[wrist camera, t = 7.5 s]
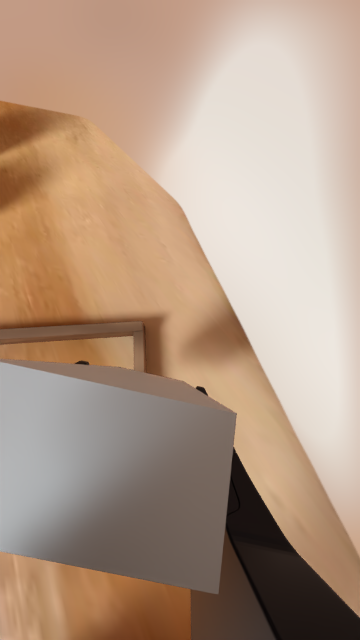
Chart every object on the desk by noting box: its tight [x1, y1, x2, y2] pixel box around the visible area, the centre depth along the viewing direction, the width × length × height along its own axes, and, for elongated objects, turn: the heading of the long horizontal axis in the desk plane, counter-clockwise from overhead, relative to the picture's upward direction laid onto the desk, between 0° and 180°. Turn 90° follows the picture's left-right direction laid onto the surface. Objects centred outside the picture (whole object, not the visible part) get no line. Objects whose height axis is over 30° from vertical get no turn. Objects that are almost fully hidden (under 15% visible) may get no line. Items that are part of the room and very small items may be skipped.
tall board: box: [0, 359, 237, 594], centre depth 9 cm, size 3×6×12 cm, turn 78°
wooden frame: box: [0, 321, 146, 373], centre depth 20 cm, size 17×26×3 cm, turn 95°
